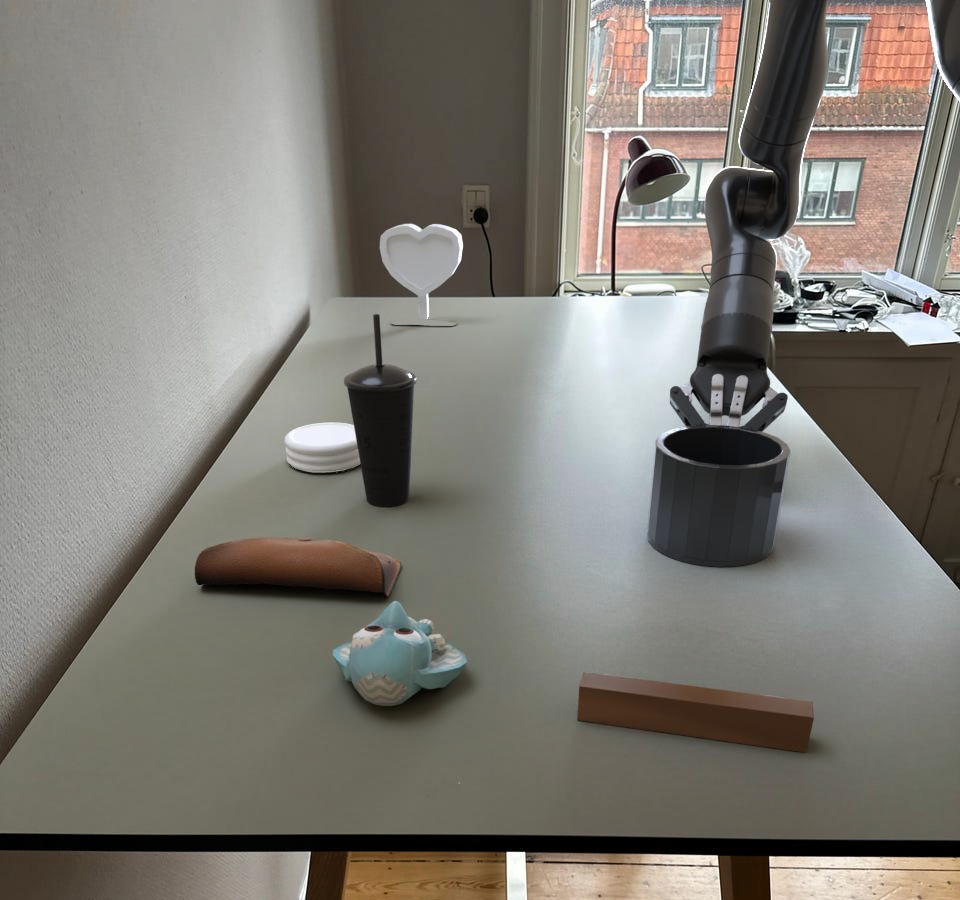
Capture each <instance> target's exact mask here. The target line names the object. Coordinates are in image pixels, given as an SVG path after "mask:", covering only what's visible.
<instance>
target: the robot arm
mask: <svg viewBox="0 0 960 900" xmlns="http://www.w3.org/2000/svg"><path fill="white" fill-rule="evenodd" d="M828 3H829V0H769V5H768V13H767V21H766V28H765V34H764V38H763V44H762V49H761V52H760V59H759V63H758V66H757V70H756V74H755V78H754V81H753V83H752V84H753V85H752V89H751V92H750V95H749V98H748V102H747V106H746V109H745V113H744V116H743V117H744V118H743V121H742V124H741V128H740V131H739V137H738V146H739V149H740V152H741V154H742V156H744V157H745V158H746V159H747V160H749V161H751V162H752V163H753V164H755V165H758V166H760V167H763V168H765V169H767V170H764V169H757V168H748V167H741V166H727V167H724V168H722V169H720V170H719V171H718V172H717V173H715V175H714V176H713V177H712V178H711V180H710V182H709V183H708V185H707V188H706V191H705V197H704V218H705V225H706V229H707V233H708V239H709V243H710V249H711V250H710V251H711V272H710V280H709V288H708V294H707V298H706V302H705V305H704V309H703V315H702V321H701V326H700V337H699V342H698V352H697V360H696V365H695V369H694V371H693V372H692V373H691V375H690V377H689V382H686V384H683V385H682V386H679V385H674V386H671V388H670V389H669V404H670V406H671V408H672V409H673V411H674V412H675V414H676V415H677V416H678V418H679V419H680V420H681V422H682V423H683V425H684V427H686V426H697V425H722V423H723V417H725V416H726V417H728V419H727V423H726V426H734V427H742V428H748V429H752V430H756V431H761V432H765V430H766V429H767V428H768V427H769V426H770V425H772V423H774V422H775V421H776V420H777V419H778V418H779V417H780V416H781V415H782V414H784V412H785V410H786V407H787V403H788V399H789V396H788V394H787V393H786V392H777V391H776V390H775V389H773V388H772V387H771V379H770V376H769V374H768V363H769V357H770V356H769V355H770V347H771V346H770V345H771V338H772V337H771V336H772V332H773V320H774V292H775V282H776V274H777V273H776V272H777V265H778V263H777V262H778V256H777V252H776V249H775V247H774V246H773V245H772V244H771V243H770V242H769V241H775V240H779V239H781V238H783V237H784V236H786V235H787V234H788V233H789V232H790V231H791V229H792V228H793V227H794V225H795V223H796V222H797V218H798V216H799V212H800V202H801V176H802V165H803V158H804V153H805V148H806V145H807V142H808V139H809V136H810V132H811V130H812V126H813V124H814V121H815V119H816V115H817V112H818V110H819V106H820V104H821V100H822V98H823V94H824V91H825V87H826V82H827V77H828V76H827V75H828V66H829V57H828V56H829V54H828V42H827V41H828V40H827V26H826V24H827V23H826V22H827V21H826V20H827V9H828ZM925 4H926V7H927V15H928V23H929V31H930V37H931V43H932V48H933V53H934V58H935V61H936V65H937V68H938V70H939V73H940V76H941V77H942V79H943V80H944V82H945V83H946V85H947V86H948V88H949V89H950V91H951V92H952V93H953V95H954V96H955V97H956V99H957V100H958V101H959V102H960V0H925ZM692 394H693V395H692ZM693 396H694V397H695V398H696V401H697V402H698V403H699V405H700V406H701V408H702V410H704V411H705V412H706V413H707V414H709V415H708V417H709V418H708V423H706V422H705V420H704V419H703V418H702V417H701V415H700V413H699V412H698V411H697V409H696V407H695V406H694V405H693ZM763 399H764V400H763ZM761 400H762V405H761V409H759V411H758V412H756V414H755V415H753V416H752V417H751V418H750V419H749V420H748V421H747V422H746V423H745V424H744V425H741V421H742V417H743V416H745V415H747V414H748V413H749V412H751V411H752V409H753V408H755V407H756V406H757V405H758V404H759V402H760V401H761ZM740 425H741V426H740Z"/></svg>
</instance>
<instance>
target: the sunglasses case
mask: <svg viewBox="0 0 960 900" xmlns="http://www.w3.org/2000/svg"><path fill="white" fill-rule="evenodd" d="M401 570H402V562H401V561H400V560H399V559H396V558H393V557H392V556H389V555H387V554H383V553H381V552H376V551H372V550H366V549H362V548H359V547H357V546H354V545H351V544H349V543H347V542H342V541H338V540H332V539H311V538H310V537H299V538H298V537H297V538H296V537H269V536H268V537H267V536H265V537H262V536H261V537H251V538H243V539H238V540H237V539H236V540H230V541H225V542H222V543H217V544H215V545H213V546H209V547H206V548H204V549H203V550H201V552H199V554H198V556H197V557H196V559H195V564H194V579H195V583H196V585H198V586H199V585H202V586H203V585H206V586H207V585H209V586H210V585H211V586H212V585H216V586H217V585H218V586H219V585H220V586H221V585H242V584H245V585H260V584H268V585H273V586H286V587H312V588H318V589H331V590H348V591H359V592H360V591H362V592H371V593H382V594H383V596H386V597H390V595H391V594H392V592H393V590H394V587H395V584H396V582H397V580H398V577H399V575H400V571H401Z"/></svg>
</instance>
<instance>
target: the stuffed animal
mask: <svg viewBox="0 0 960 900" xmlns="http://www.w3.org/2000/svg"><path fill="white" fill-rule="evenodd" d="M434 629H435V626H434V623H433V621H432V620H430V619H427V618H424V619H420V620H418V621H417V620H416V619H414V618H412V617H410V616H408V615H407V613H406V611H405V609H404V608H403V605H402V604H401V602H400V601H398V600H393V601H391V602H390V604H388V606H386V607H385V609H384V610H383V611H382V612H381V614H380V616H379V617H378V618H376V619H374V620H373V621H372V622H371V623H369V624H368V625H366V626H365V627H363V628H361V629H360V630H358V631H356V632H355V633H354V634H353V635H352V638H351V641H349V642H345V643H343V644H342V645H339V646H338V647H336V648H334V649H332V657H333V659H334V660H335V663H336V664H337V667H338V669H339V670H340V671H341V673H342V674H343V676H344V679H345V681H346V682H350V683H352V685H353V687H354V689H355V690H356V691H357V692H358V694H359V695H360V696H361V697H362V698H363V700H364V701H366V702H368V703H370V704H372V705H376V706H381V707H394V706H397V705H398V706H399V705H401V704H403V703H405V702H406V701H407V700H408V699H410V698H411V697H412V696H414V695H415V694H417V693H418V692H419V691H421V689H425V690H434V689H438V688H443V689H444V688H445V687H446V686H448V685H449V684H450V683H451V682H452V681H453V680H454V679H456V678H458V677H459V676H460V675H461V673H462V671H463V670H464V668H465V666H466V665H467V663H468V661H467V660H468V659H467V657H466V655H465V653H464V652H462V651H461V650H460V649H459V648H456V647H455V646H454V645H452V644H450V643H448V642H446V641H445V638H444V637H443V635H441V634H440V633H433V632H434ZM433 652H434V653H433Z"/></svg>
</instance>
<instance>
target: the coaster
mask: <svg viewBox="0 0 960 900" xmlns="http://www.w3.org/2000/svg"><path fill="white" fill-rule="evenodd" d="M284 445H285V454H286V462H287V461H288V462H287V464H288V463H289V464H291V465H293V466H295V467H297V468H301V469H305V470H312V471H336V470H343V469H349V468H352V467H355V466H358V465H360V458H359V452H358V446H357V441H356V435H355V429H354V424H352V423H351V424H350V423H345V422H333V421H332V422H317V423H310V424H305V425H302V426H299V427H296V428H293V429H292V430H290V431H289V432H287V434H286V435H285V437H284ZM289 464H288V465H289ZM360 466H361V465H360ZM358 467H359V466H358Z"/></svg>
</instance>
